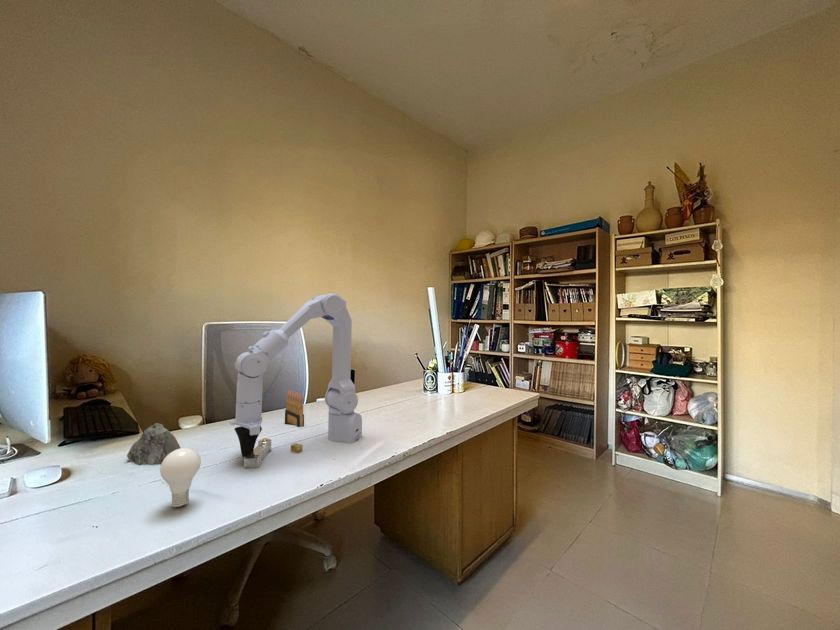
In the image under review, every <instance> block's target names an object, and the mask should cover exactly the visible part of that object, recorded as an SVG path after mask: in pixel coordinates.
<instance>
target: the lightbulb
mask: <svg viewBox="0 0 840 630" xmlns="http://www.w3.org/2000/svg"><path fill="white" fill-rule="evenodd" d="M201 462H202V461H201V456H200V454H199V453H198V451H196V450H195V449H193V448H191V447H180V449H176V450H174V451H172V452H171V453H169V454H168V455H167V456H166V457H165V458H164V460H163V462H162V464H160V467H159V473H160V476H161V478H162V479H163V481H164V482H165V483H167V485H168V487H169V490H170V492H171V506H172V508H173V507H174V508H182V507H184V506H186V504H188V503H189V501H190V499H189V498H190V497H189V495H190V488H191V485H192V482H193V480H194V478H195V476H196V475H197V474H198V471H199V470H200V468H201Z"/></svg>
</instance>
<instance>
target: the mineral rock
mask: <svg viewBox="0 0 840 630" xmlns="http://www.w3.org/2000/svg"><path fill="white" fill-rule="evenodd" d="M180 448H181V446H180V444H179V442H178V440H177V438H176V437H175V435H174V434H173V433H172V432H171V431H170V430H168V429H167V428H166V427H164V425H163V424H162V423H159V422H155V423H154V424H153V425H150V426H149V427H147V428H145V429H144V430H143V432H142V434H141V435H140V437H139V438H138V439H137V440H136V441H135V442H134V443H133V444H132V445H131V447H130V448H129V451H128V453H127V454H126V457H127V459H128V460H129V461H131V462H133V463H134V464H137V465H139V466H142V465H143V466H145V465H149V466H151V465H161V464H162V462H163V460H164V458H165V457H166V456H167V455H168V454H169V453H171V452H172V451H174V450H176V449H180Z"/></svg>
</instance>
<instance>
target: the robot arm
mask: <svg viewBox="0 0 840 630" xmlns="http://www.w3.org/2000/svg"><path fill="white" fill-rule="evenodd" d="M318 318H322V319H324V320H325V321H326V322H328V324H330V325H331V326H332V350H331V351H332V355H331V356H332V358H331V360H332V361H331V365H332V366H331V379H330V381H329V382H328V384H327V390H326V393H325V396H324V402H325V404H326V406H328V418H327V419H328V420H327V421H328V423H327V425H328V426H327V433H328V434H327V435H328V436H327V439H328V441H331V442H333V443H335V442H336V443H346V444H347V443H348V444H353V443H354V442H356V441H357V440H359V439H361V438H362V437H363V418H362V415H361V414H360V413H357V412H356V411H355V410H356V409H357V406H358V404H359V403H358V402H359V398H358V395H357V393H356V385H355V383H354V382H353V381H352V379H351V376H352V375H351V372H352V370H351V368H352V365H351V362H352V326H353V325H352V318H351V315H350V313H349V310H348V309H347V301H346V300H345V299H344V298H342V297H341V295H340V294H337V293H335V292H332V293H327V294H317V295H314V296H313V297H312V298H311V299H310V300H307V301H306V302H305V303H304V304H303V305H302V306H301V308H299V309H298V311H295V313H294V314H293V315H292V316H291V317H290V318H289V319H288V320H287V321H286V322H285V323H284V324H283V325H282V326H281V327H280V328H279V329H271V330H270V331H265V332H264V333H262V337H261V339H259V340H258V341H257V342H256V343H255V344H253V345H250V346H248V348H247V349H248V351H246V352H242V353H241V354H240V355H238V357H237V358H236V361H235V362H234V365H233V366H234V368H235V370H236V371H237V382H236V395H235V398H236V399H235V419H230V420H229V424H230V426H237V427H234V429H233V430H234V431H235V433H236V436H237V438H238V441H239V447H240V454H241V457H242V458H245V457H246V456H247V455H250V453H251V452H252V451H253V450H254V449H255V447H256V443H257V439H258V438H259V435H260V434H261V432H262V430H263V428H262V426H261V424H262V422H263V417H262V412H263V411H262V410H263V409H262V408H263V385H264V383H263V379H264V378H263V377H264V373H265V372H266V371H267V369H268V364H269V363H271V362H272V361H273V360H274V359H275V358H276V357H277V356H278V355H279V354H280V353H281V352H282V351H283V350H284V349H285V348H286V347H287V346H288V345H289V339H290V338H291V336H293V335H294V334H295V333H297V332H298V331H299V330H300V329H302V327H303V326H304V325H306V324H307V323H308V322H309V321H310V320H312V319H318Z"/></svg>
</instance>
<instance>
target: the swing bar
mask: <svg viewBox="0 0 840 630" xmlns="http://www.w3.org/2000/svg"><path fill="white" fill-rule="evenodd" d="M270 452H272V439H271V438H266V437H265V438H262V439H260V440H258V441H257V445H256V446H255V447H254V450H253V451H252V452H251V453H250V455H247V456H246V457H244V458H243V459H244V460H243V462H244V463H243V468H244V469H254V468H255V469H257V468H260V466H261V465H262V462H263V460H264V459H265V458H266V457H267V455H268V454H269V453H270Z"/></svg>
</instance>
